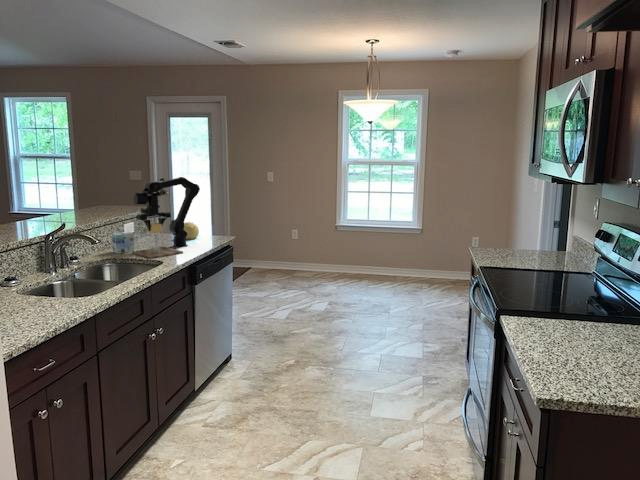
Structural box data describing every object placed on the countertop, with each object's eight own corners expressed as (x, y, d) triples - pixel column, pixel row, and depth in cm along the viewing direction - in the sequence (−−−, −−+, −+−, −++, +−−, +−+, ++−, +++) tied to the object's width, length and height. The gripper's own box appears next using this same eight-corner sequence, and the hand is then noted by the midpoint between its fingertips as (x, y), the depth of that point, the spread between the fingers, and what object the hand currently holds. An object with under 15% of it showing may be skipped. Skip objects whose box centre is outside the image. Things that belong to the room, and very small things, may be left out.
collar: (156, 231, 299) (156, 222, 298) (161, 232, 295) (161, 223, 294) (147, 232, 295) (146, 223, 294) (152, 233, 291) (151, 225, 290)
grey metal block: (155, 252, 285) (154, 246, 284) (161, 252, 285) (160, 246, 284) (153, 253, 281) (152, 247, 281) (159, 253, 281) (159, 247, 281)
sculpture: (176, 239, 328) (176, 223, 326) (186, 236, 339) (186, 220, 337) (192, 240, 325) (191, 223, 323) (202, 237, 336) (201, 221, 334)
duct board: (164, 248, 300) (164, 246, 300) (183, 253, 287) (183, 251, 287) (132, 253, 286) (132, 251, 286) (150, 258, 273) (150, 257, 273)
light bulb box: (116, 253, 285) (115, 234, 283) (112, 251, 290) (111, 233, 288) (135, 251, 292) (134, 232, 290) (131, 249, 297) (130, 231, 295)
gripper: (161, 201, 304) (162, 227, 307) (131, 203, 291) (132, 230, 294) (170, 203, 296) (171, 229, 299) (140, 205, 284) (141, 233, 286)
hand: (154, 230), depth 295 cm, fingers closed on collar, 6 cm apart
